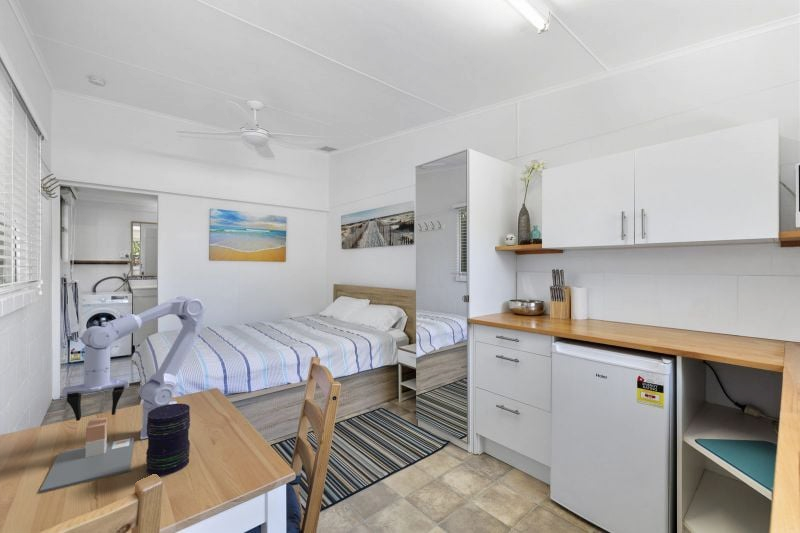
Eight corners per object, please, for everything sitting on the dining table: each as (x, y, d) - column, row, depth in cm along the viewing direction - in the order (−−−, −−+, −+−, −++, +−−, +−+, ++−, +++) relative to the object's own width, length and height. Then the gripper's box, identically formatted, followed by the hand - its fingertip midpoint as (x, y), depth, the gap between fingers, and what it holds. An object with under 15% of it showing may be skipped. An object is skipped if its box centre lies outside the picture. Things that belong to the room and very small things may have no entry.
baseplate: (134, 439, 111) (134, 436, 111) (129, 471, 94) (129, 468, 94) (59, 454, 102) (59, 451, 102) (39, 493, 85) (39, 490, 85)
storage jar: (142, 480, 91) (143, 421, 91) (149, 460, 99) (149, 406, 99) (188, 470, 95) (189, 414, 95) (190, 452, 104) (191, 401, 104)
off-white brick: (106, 444, 106) (106, 430, 106) (104, 453, 101) (104, 439, 101) (89, 447, 104) (89, 433, 104) (85, 457, 99) (85, 442, 99)
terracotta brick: (107, 430, 107) (107, 416, 106) (104, 438, 102) (104, 424, 101) (89, 433, 104) (89, 419, 104) (85, 442, 99) (86, 428, 99)
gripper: (59, 376, 95) (58, 427, 95) (128, 368, 103) (127, 416, 103) (65, 369, 101) (64, 417, 101) (129, 362, 109) (129, 407, 109)
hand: (96, 416), depth 103 cm, fingers open, 7 cm apart
